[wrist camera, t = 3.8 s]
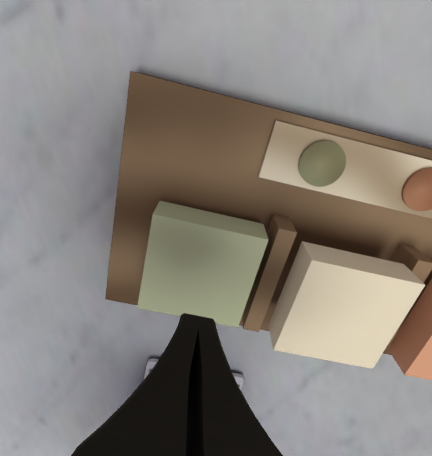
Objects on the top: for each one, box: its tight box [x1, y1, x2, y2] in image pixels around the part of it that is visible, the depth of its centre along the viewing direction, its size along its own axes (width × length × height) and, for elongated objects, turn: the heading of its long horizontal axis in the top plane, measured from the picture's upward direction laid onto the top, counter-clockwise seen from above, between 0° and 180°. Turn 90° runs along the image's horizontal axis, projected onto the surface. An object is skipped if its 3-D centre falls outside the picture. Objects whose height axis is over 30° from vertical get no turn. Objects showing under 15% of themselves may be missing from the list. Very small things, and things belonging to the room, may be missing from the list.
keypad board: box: [105, 72, 432, 355], centre depth 19 cm, size 14×27×4 cm, turn 77°
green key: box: [137, 201, 268, 328], centre depth 18 cm, size 6×6×2 cm
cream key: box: [269, 241, 425, 369], centre depth 17 cm, size 6×6×2 cm
